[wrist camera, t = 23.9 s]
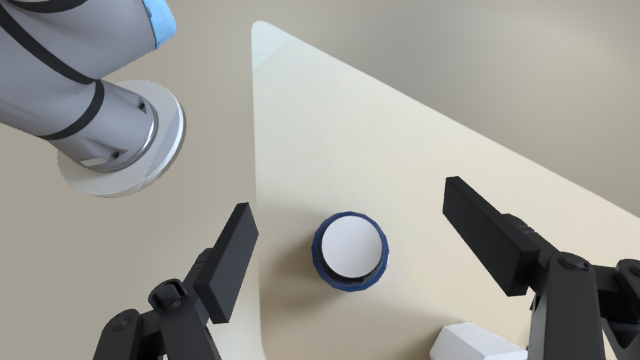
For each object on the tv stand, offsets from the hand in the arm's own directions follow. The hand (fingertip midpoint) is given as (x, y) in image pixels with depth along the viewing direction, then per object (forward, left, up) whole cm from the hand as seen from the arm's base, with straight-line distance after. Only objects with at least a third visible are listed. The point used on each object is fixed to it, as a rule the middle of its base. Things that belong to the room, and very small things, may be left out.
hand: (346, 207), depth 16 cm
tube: (+1, -2, -17) cm, 17 cm away
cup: (+1, -2, -18) cm, 18 cm away
